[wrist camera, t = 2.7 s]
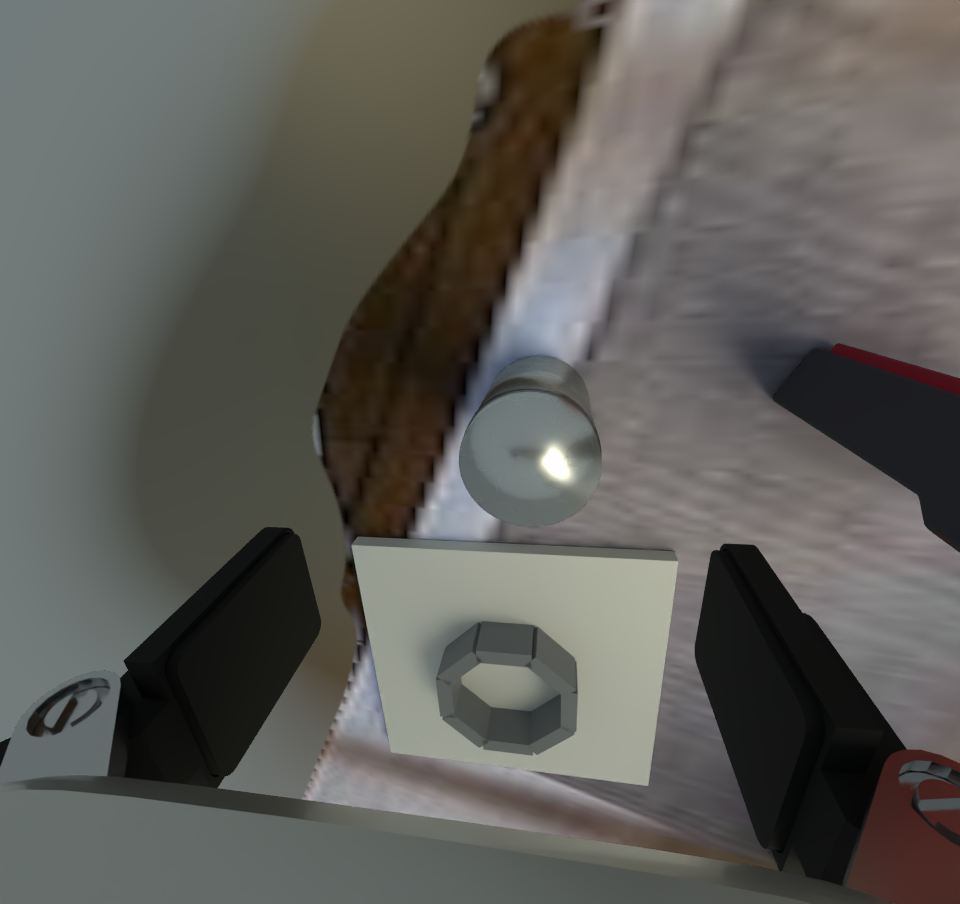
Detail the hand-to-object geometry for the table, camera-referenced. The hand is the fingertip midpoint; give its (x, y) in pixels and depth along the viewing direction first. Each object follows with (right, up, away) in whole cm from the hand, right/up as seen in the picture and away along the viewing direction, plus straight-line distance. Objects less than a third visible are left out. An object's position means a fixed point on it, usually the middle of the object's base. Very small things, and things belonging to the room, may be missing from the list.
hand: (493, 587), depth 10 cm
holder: (+2, -12, +22) cm, 25 cm away
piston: (+3, +6, +14) cm, 16 cm away
